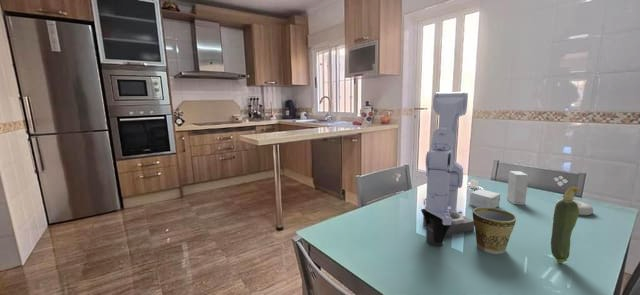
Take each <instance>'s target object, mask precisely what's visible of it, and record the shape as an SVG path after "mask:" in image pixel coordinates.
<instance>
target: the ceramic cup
mask: <svg viewBox="0 0 640 295" xmlns="http://www.w3.org/2000/svg"><path fill="white" fill-rule="evenodd" d="M472 220H473V221H474V232H475V238H476V239H475V240H476V241H475V242H476V247H477V248H478V249H480V250H481V251H483V252H484V253H488V254H492V255H500V254H505V252H506V249H507V246H508V244H509V242H510V241H509V240H510V237H511V235H512V232H513V231H514V228H515V225H516V221H517V217H516V215H514V214H513V213H512V212H509V211H507V210H505V209H504V210H503V209H501V208H497V207H496V208H491V207H475V208H473V209H472Z"/></svg>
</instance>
